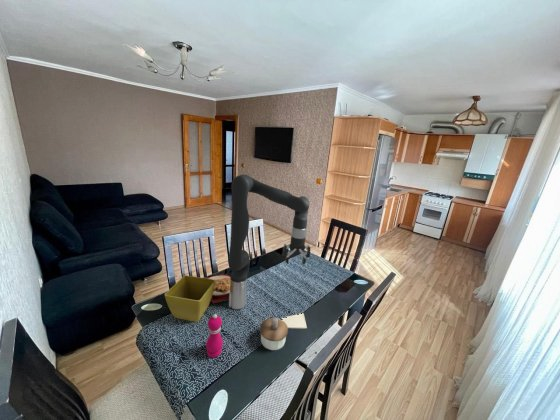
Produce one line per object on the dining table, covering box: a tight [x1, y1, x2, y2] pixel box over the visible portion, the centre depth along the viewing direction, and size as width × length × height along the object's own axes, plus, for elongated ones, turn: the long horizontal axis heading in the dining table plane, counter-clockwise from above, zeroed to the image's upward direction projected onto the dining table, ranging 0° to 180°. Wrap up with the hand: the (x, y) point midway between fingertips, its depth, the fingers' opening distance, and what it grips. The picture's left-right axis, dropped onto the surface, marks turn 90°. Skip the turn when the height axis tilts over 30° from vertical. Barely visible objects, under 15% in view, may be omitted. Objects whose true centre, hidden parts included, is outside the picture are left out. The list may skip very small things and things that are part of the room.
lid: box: [259, 316, 289, 341], centre depth 109 cm, size 14×14×6 cm
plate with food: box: [205, 273, 247, 304], centre depth 142 cm, size 24×26×3 cm
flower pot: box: [164, 275, 215, 323], centre depth 121 cm, size 19×19×17 cm
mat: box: [281, 312, 308, 330], centre depth 126 cm, size 15×15×1 cm
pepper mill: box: [205, 313, 224, 358], centre depth 99 cm, size 7×7×20 cm
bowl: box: [260, 334, 287, 351], centre depth 110 cm, size 12×12×6 cm
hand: (295, 263), depth 120 cm, fingers open, 8 cm apart
